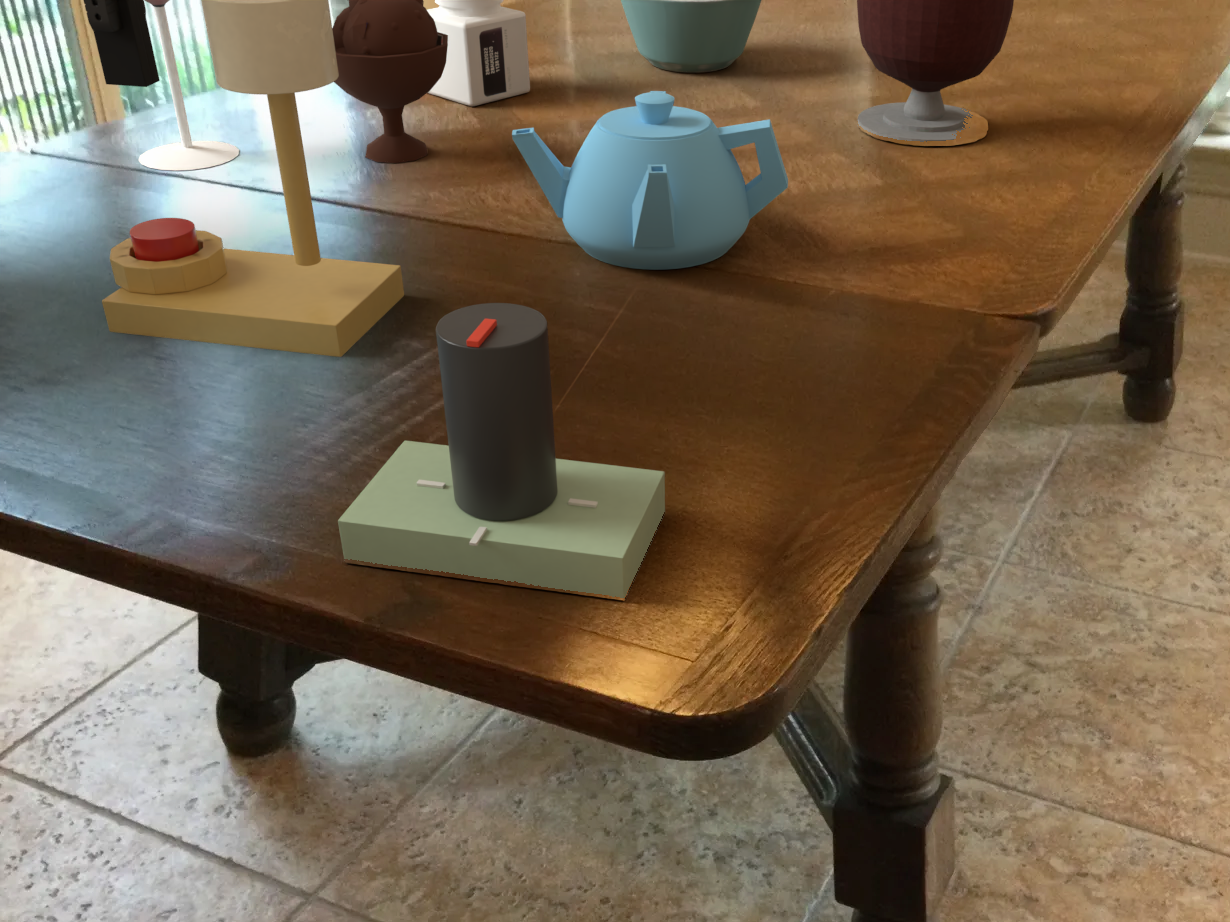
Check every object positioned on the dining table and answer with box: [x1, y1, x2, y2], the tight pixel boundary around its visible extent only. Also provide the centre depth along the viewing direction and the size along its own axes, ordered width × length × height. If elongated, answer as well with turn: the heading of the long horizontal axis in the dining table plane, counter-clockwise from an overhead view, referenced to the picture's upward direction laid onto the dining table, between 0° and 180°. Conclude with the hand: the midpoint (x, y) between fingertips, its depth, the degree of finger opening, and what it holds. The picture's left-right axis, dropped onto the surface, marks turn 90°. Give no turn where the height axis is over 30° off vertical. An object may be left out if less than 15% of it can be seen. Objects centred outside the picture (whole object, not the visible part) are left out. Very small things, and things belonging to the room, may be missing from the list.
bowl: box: [620, 0, 762, 74], centre depth 143 cm, size 16×16×8 cm
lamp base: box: [101, 229, 405, 358], centre depth 88 cm, size 18×10×4 cm, turn 78°
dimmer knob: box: [435, 302, 558, 521], centre depth 63 cm, size 5×5×9 cm
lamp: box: [200, 0, 339, 266], centre depth 82 cm, size 7×7×16 cm
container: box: [426, 0, 531, 107], centre depth 131 cm, size 8×8×13 cm
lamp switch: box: [129, 217, 200, 262], centre depth 88 cm, size 4×4×2 cm
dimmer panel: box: [337, 440, 666, 598], centre depth 66 cm, size 14×9×3 cm, turn 78°
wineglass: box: [138, 0, 240, 172], centre depth 111 cm, size 9×10×22 cm
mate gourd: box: [856, 0, 1015, 142], centre depth 121 cm, size 16×14×20 cm
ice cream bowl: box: [332, 0, 448, 164], centre depth 114 cm, size 11×11×15 cm
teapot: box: [511, 90, 789, 271], centre depth 98 cm, size 15×15×11 cm
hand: (132, 82), depth 82 cm, fingers closed
